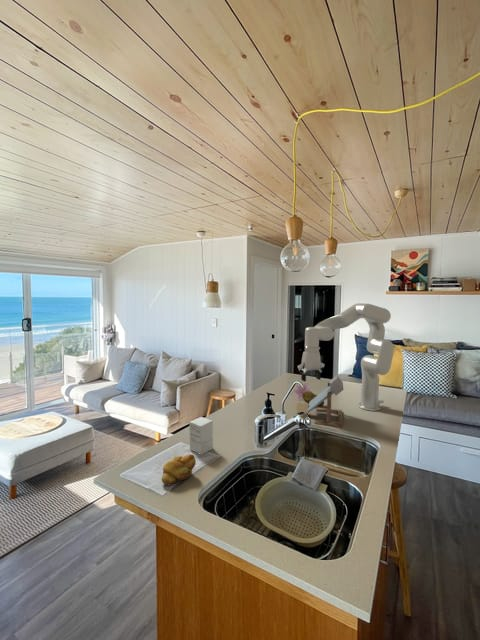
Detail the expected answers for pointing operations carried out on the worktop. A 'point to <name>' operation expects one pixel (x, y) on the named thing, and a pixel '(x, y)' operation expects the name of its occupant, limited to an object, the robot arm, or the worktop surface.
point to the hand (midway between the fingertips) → (311, 379)
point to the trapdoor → (334, 387)
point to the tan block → (302, 408)
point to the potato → (309, 397)
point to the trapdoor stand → (329, 411)
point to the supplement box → (201, 435)
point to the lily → (301, 390)
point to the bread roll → (178, 469)
